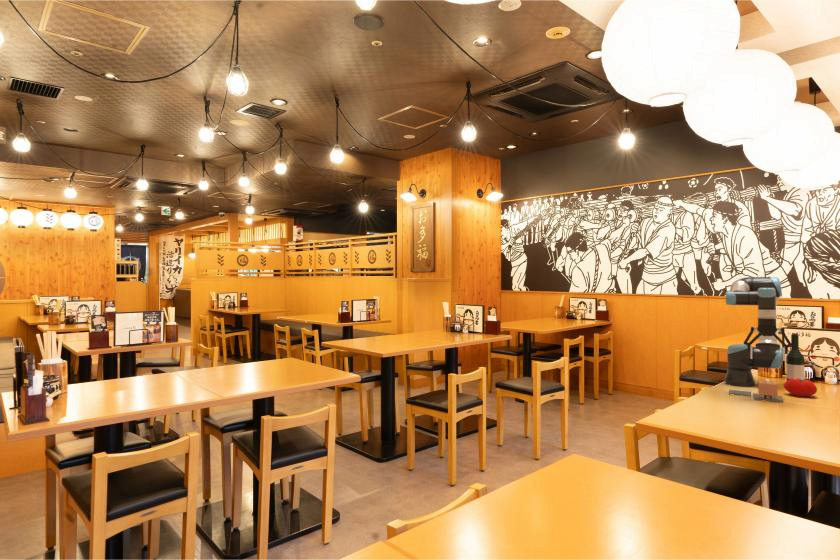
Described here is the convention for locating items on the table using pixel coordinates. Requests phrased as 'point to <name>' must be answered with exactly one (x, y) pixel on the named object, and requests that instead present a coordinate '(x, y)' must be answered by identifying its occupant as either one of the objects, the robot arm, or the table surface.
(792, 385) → the tomato
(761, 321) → the robot arm
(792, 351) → the wine bottle
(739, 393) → the mat
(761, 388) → the orange block
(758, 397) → the grey peg stand
